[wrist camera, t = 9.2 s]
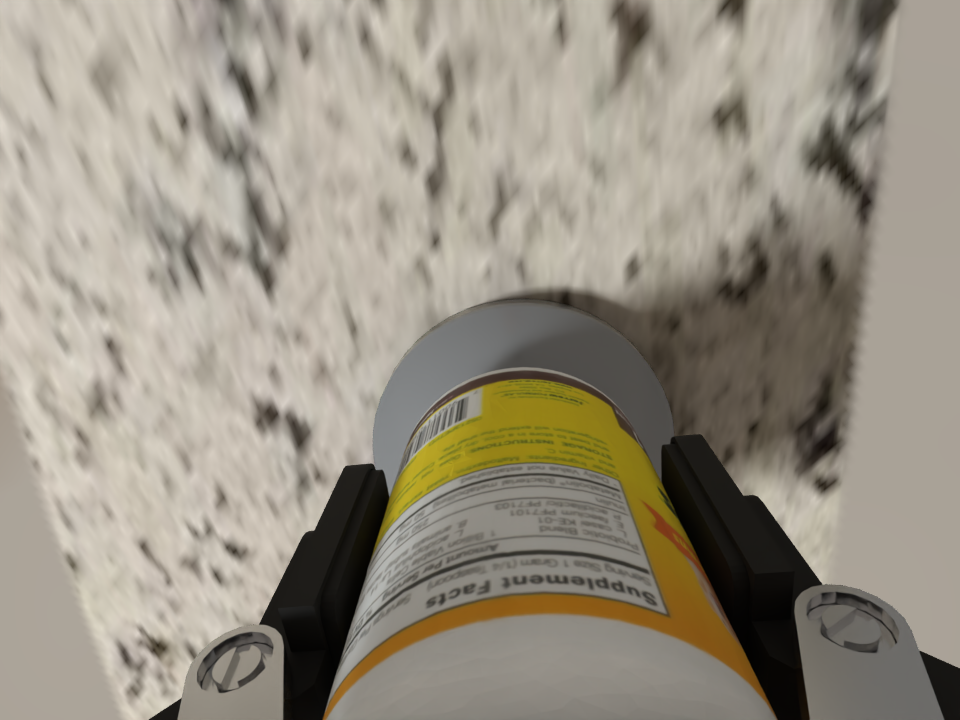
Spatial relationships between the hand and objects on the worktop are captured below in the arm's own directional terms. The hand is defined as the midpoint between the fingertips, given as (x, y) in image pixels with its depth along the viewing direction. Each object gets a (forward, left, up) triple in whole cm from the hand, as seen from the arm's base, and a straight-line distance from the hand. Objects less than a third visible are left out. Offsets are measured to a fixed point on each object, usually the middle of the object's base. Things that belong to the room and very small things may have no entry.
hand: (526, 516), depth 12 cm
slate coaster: (0, 0, -4) cm, 4 cm away
